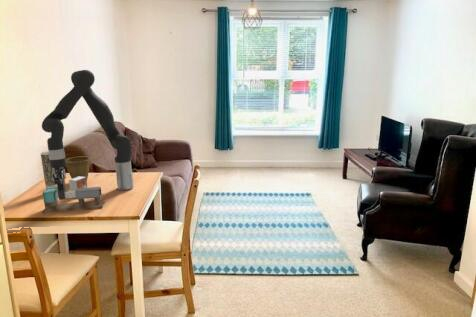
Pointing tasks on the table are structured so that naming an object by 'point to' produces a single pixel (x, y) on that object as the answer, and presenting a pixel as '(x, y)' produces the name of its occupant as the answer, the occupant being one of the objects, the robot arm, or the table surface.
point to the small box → (77, 183)
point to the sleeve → (88, 193)
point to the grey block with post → (64, 192)
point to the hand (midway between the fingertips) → (61, 189)
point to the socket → (49, 195)
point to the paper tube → (48, 172)
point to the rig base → (73, 205)
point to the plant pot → (78, 166)
